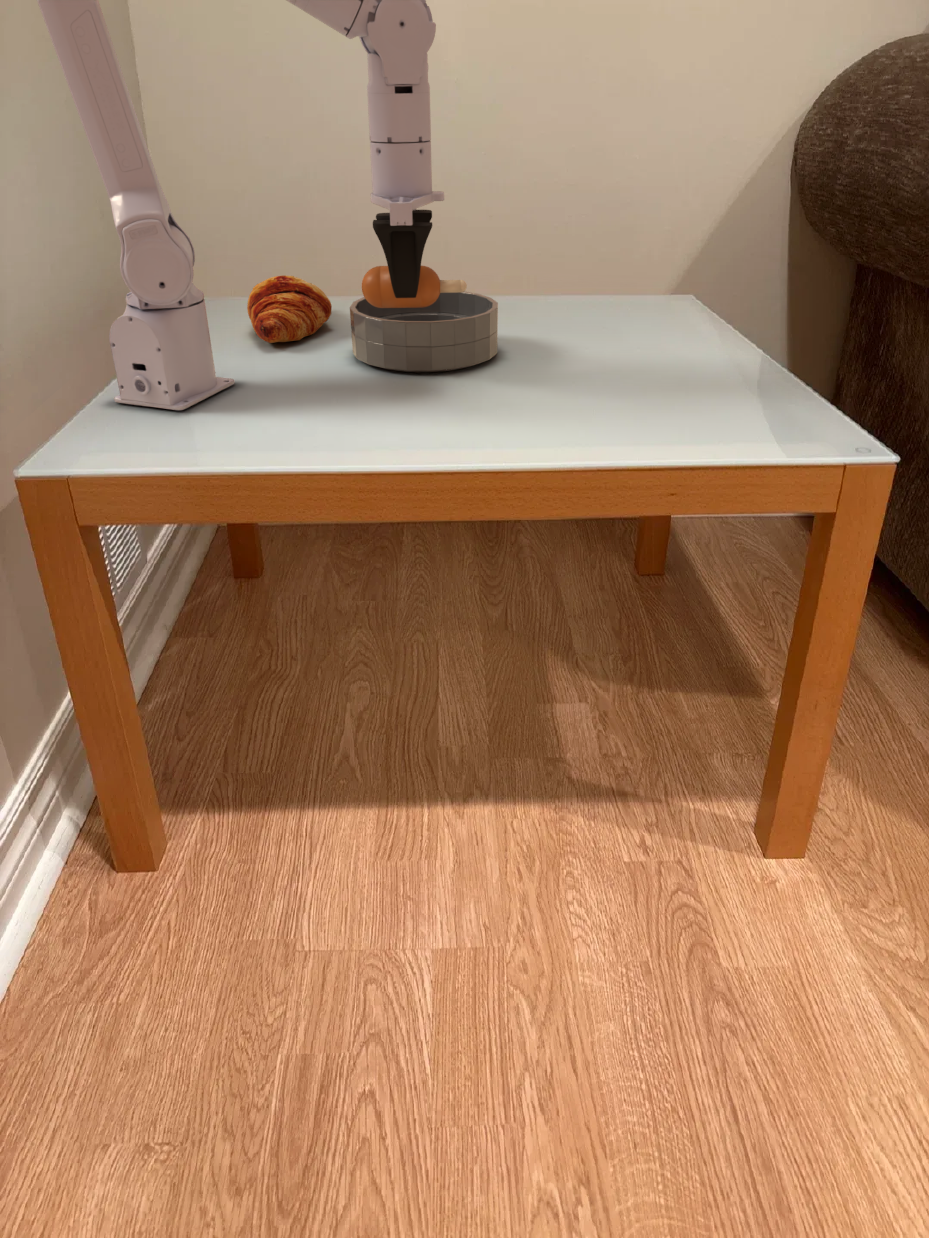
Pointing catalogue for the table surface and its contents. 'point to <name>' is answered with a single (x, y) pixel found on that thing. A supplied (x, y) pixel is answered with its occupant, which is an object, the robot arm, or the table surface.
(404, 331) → the bowl
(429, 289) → the corn dog
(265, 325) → the croissant
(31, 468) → the table surface
